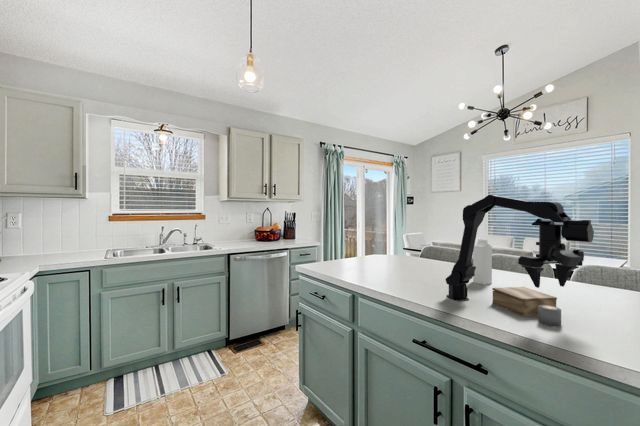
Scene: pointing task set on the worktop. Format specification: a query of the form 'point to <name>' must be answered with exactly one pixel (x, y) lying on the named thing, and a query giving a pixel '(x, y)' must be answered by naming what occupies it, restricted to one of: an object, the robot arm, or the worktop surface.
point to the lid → (524, 294)
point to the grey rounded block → (549, 315)
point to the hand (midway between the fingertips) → (549, 286)
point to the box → (520, 304)
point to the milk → (482, 262)
